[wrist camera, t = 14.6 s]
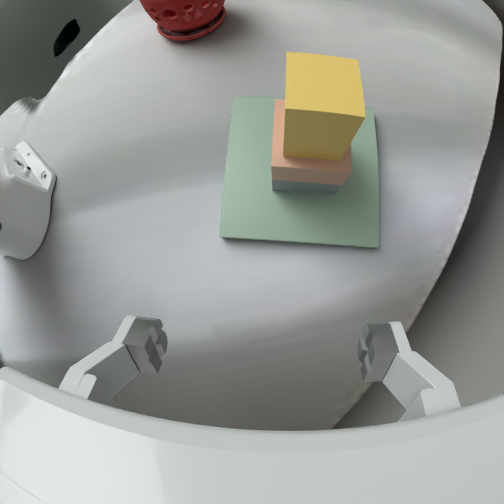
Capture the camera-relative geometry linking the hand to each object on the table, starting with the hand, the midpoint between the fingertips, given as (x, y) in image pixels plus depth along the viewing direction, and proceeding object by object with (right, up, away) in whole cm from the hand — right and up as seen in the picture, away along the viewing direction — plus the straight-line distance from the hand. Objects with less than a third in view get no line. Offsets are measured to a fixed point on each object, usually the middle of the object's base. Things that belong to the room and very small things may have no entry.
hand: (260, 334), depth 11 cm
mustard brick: (+5, +14, +13) cm, 19 cm away
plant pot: (-10, +42, +25) cm, 50 cm away
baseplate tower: (+6, +13, +22) cm, 26 cm away
